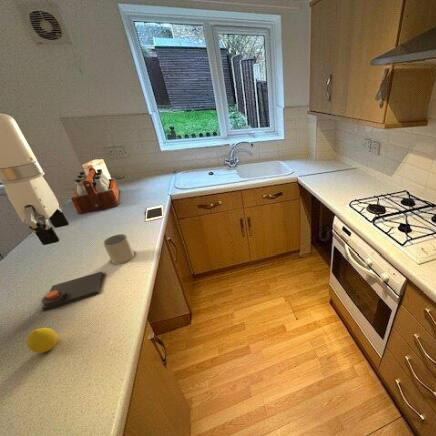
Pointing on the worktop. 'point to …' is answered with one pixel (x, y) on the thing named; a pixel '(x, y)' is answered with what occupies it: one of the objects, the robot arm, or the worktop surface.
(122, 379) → the worktop surface
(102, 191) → the milk bottle holder
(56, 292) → the tare button
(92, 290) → the scale
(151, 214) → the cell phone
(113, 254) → the cup
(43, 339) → the lemon
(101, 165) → the coffeecake box
